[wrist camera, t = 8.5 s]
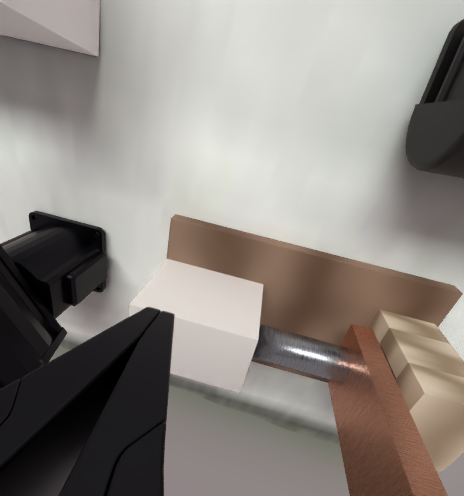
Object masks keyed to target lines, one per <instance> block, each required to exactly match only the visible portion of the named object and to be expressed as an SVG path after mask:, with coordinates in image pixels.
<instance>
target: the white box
mask: <svg viewBox="0 0 464 496" xmlns="http://www.w3.org/2000/svg"><path fill="white" fill-rule="evenodd" d="M99 16H100V0H0V35H4V36H9V37H13V38H18V39H22V40H27V41H31V42H36V43H40V44H44V45H49V46H53V47H58V48H62V49H67V50H71V51H76V52H80V53H85V54H89V55H94V56H98V51H99Z"/></svg>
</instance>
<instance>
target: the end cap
mask: <svg viewBox="0 0 464 496" xmlns="http://www.w3.org/2000/svg"><path fill="white" fill-rule="evenodd" d="M406 154H407V157H408V160H409V162H410V163H411V165H412V166H413V167H415V168H416V169H418V170H422V171H427V172H433V173H438V174H444V175H449V176H455V177H460V178H464V19H463V20H461V21H460V22H458V23H457V24H456V25H454V26H453V28H452V29H451V31H450V32H449V34H448V37H447V39H446V42H445V44H444V46H443V49H442V51H441V53H440V56H439V58H438V61H437V63H436V65H435V68H434V70H433V73H432V75H431V77H430V80H429V82H428V84H427V87H426V89H425V92H424V94H423V96H422V99H421V101H420V104H417V105H416V106H415V108H414V111H413V114H412V116H411V120H410V123H409V127H408V132H407V137H406Z"/></svg>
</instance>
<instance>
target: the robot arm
mask: <svg viewBox="0 0 464 496" xmlns="http://www.w3.org/2000/svg"><path fill="white" fill-rule="evenodd" d="M36 217H37V218H36ZM29 221H30V228H31V231H28V232H26V233H24V234H22V235H19V236H17V237H15V238H13V239H10V240H8V241H6V242H4V243H1V244H0V496H164V472H163V471H164V449H165V432H166V419H167V406H168V394H169V393H168V392H169V381H170V368H171V356H172V343H173V331H174V318H175V315H174V314H173V313H170V312H167V311H160V310H159V309H156V308H152V307H146V308H144V309H142V310H141V311H139V312H137V313H135V314H134V315H132V316H130V317H128V318H126V319H125V320H123V321H121V322H119V323H118V324H116V325H114V326H112V327H110V328H109V329H107V330H105V331H103V332H102V333H100V334H98V335H96V336H95V337H93V338H91V339H89V340H87V341H86V342H84V343H82V344H80V345H79V346H77V347H75V348H73V349H71V350H70V351H68V352H66V353H64V354H63V355H61V356H59V357H57V358H56V359H54V360H52V361H51V362H49V360H50V359H51V357H52V356H53V354H54V353H55V351H56V350H57V348H58V347H59V345H60V344H61V342H62V341H63V339H64V337H65V336H66V334H67V332H66V330H65V329H64V328H63V327H61V326H60V325H59V323H58V322H57V320H56V318H57V317H58V316H59V315H60V314H61V313H62V312H64V311H65V310H66V309H67V308H68V307H69V306H70V305H73V306H75V305H77V304H79V303H80V302H81V301H82V300H83V299H84V298H85V297H86V296H87V295H89V294H90V293H91V292H92V291H95V292H102V291H103V290H104V289H105V288H106V277H107V272H106V254H105V232H104V230H103V229H102V228H100V227H96V226H92V225H88V224H85V223H81V222H77V221H73V220H69V219H66V218H62V217H58V216H54V215H50V214H47V213H43V212H39V211H34V212H31V213H30V214H29ZM97 232H98V233H99V235H98V234H97Z"/></svg>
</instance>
